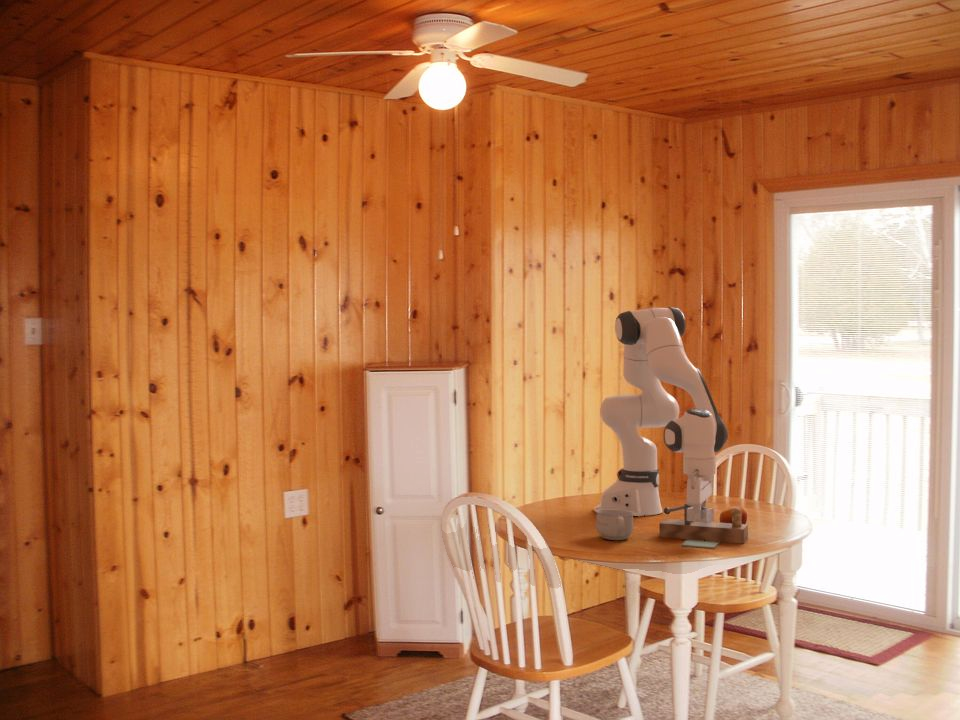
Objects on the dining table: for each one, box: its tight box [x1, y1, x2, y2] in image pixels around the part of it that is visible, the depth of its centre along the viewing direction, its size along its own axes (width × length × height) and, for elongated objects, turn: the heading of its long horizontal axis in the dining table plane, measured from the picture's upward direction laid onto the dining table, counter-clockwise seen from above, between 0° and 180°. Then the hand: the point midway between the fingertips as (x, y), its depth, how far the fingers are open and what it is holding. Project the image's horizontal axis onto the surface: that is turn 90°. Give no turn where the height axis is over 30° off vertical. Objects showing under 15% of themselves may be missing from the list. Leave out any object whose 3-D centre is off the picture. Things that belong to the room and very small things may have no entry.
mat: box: [681, 539, 720, 549], centre depth 266 cm, size 9×7×1 cm
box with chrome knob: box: [687, 506, 715, 523], centre depth 266 cm, size 6×4×4 cm
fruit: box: [719, 505, 748, 525], centre depth 286 cm, size 8×8×8 cm
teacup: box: [595, 509, 634, 541], centre depth 275 cm, size 14×11×8 cm
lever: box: [663, 504, 684, 515], centre depth 277 cm, size 12×3×7 cm
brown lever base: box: [658, 503, 749, 544], centre depth 275 cm, size 24×7×10 cm, turn 65°
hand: (699, 516), depth 266 cm, fingers closed on box with chrome knob, 5 cm apart
